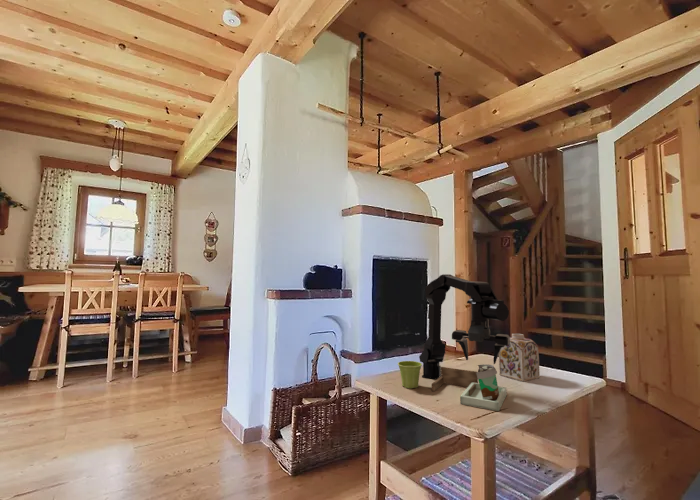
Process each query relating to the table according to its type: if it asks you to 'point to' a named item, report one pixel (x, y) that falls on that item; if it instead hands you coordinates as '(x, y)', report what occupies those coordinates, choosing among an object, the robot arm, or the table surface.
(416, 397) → the table surface
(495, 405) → the tray
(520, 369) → the decorative jar
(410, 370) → the plant pot
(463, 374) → the wooden pieces
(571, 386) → the table surface
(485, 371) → the food container
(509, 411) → the table surface
